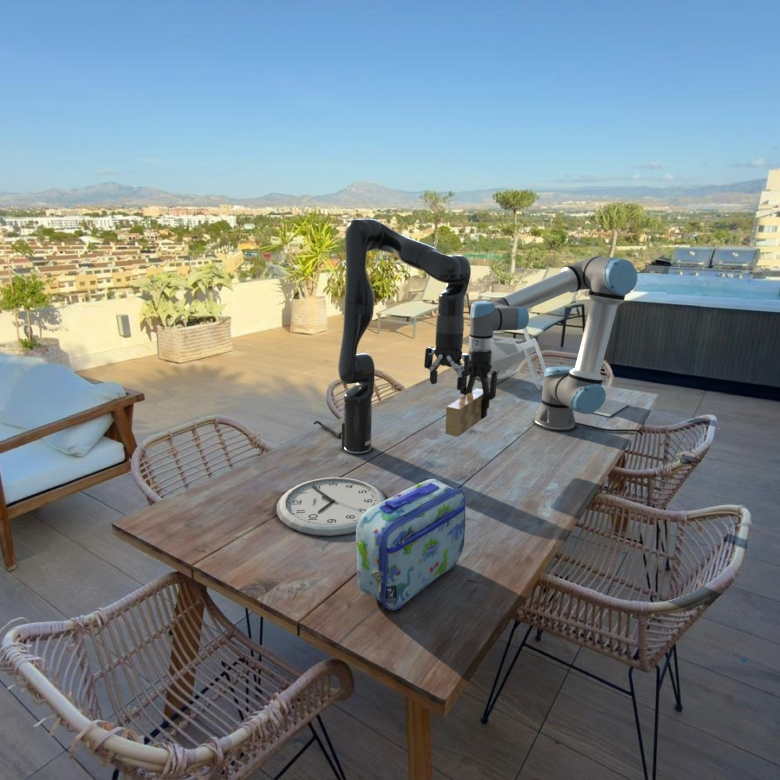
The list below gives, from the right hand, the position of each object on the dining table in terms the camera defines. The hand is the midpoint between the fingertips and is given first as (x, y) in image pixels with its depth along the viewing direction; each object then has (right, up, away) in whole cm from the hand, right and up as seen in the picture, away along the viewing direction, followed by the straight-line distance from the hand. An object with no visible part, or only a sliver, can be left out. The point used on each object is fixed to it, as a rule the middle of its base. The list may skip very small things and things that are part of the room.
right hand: (476, 415), depth 179 cm
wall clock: (-45, -23, -36) cm, 62 cm away
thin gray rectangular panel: (+62, +1, +47) cm, 78 cm away
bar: (-4, -3, -6) cm, 7 cm away
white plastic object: (+26, +12, +78) cm, 84 cm away
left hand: (-13, +10, -30) cm, 34 cm away
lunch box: (-25, -33, -66) cm, 78 cm away
